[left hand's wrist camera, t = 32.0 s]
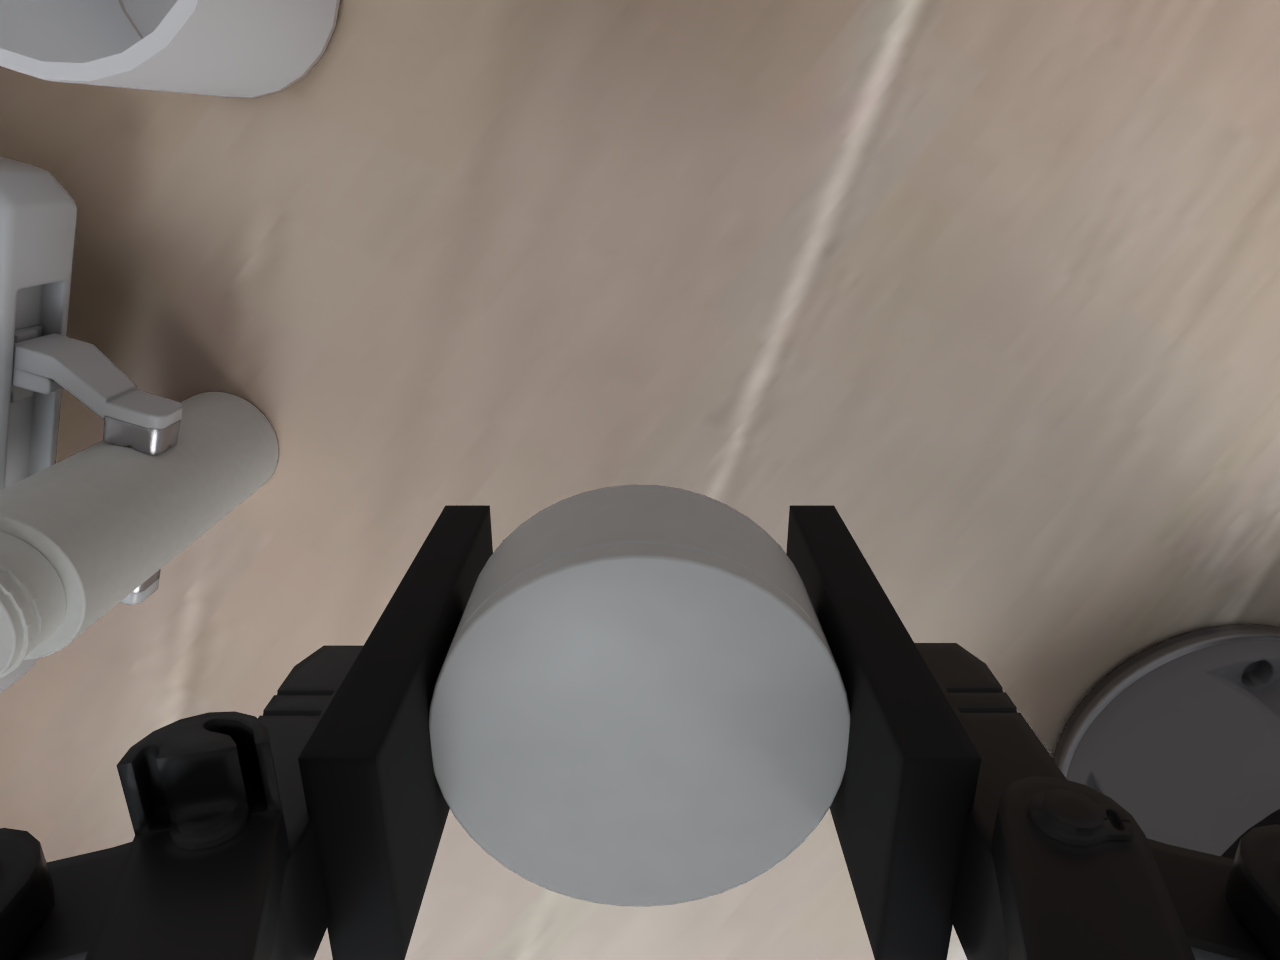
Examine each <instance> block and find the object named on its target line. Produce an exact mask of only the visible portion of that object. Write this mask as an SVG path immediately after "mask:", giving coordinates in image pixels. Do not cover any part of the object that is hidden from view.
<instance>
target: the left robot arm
mask: <svg viewBox="0 0 1280 960" xmlns="http://www.w3.org/2000/svg"><path fill="white" fill-rule="evenodd" d="M492 554H493V548H492V534H491V519H490V506H445V508H444V509H443V511H442V513H441V514H440V516H439V518H438V519H437V521H436V523H435V525H434V526H433V528H432V530H431V531H430V533H429V535H428V537H427V538H426V540H425V542H424V543H423V545H422V547H421V549H420V550H419V552H418V554H417V555H416V557H415V559H414V561H413V562H412V564H411V566H410V567H409V569H408V571H407V573H406V574H405V576H404V578H403V579H402V581H401V583H400V585H399V586H398V588H397V590H396V591H395V593H394V595H393V597H392V598H391V600H390V602H389V603H388V605H387V607H386V608H385V610H384V612H383V614H382V615H381V617H380V619H379V620H378V622H377V624H376V626H375V627H374V629H373V631H372V632H371V634H370V636H369V638H368V639H367V641H366V643H365V644H364V646H323V647H321V648H320V649H318V650H317V651H316V652H314V653H313V654H311V655H310V656H309V657H307V658H306V659H304V660H303V661H301V662H300V663H299V664H297V665H296V666H294V668H293V669H292V671H291V672H290V673H289V675H288V676H287V678H286V679H285V681H284V682H283V683H282V685H281V686H280V688H279V689H278V693H277V695H274V696H273V698H272V699H271V701H270V702H269V703H268V705H267V706H266V708H265V709H264V713H263V716H259V718H258V719H257V718H256V717H255V716H251V715H247V714H243V713H238V712H212V713H205V714H201V715H197V716H193V717H189V718H185V719H181V720H178V721H176V722H174V723H172V724H169V725H167V726H165V727H163V728H160V729H158V730H156V731H153V732H152V733H151V734H149V735H148V736H146V737H145V738H144V739H142V740H141V741H139V742H138V743H136V744H135V745H134V746H132V747H131V748H130V749H129V750H128V752H127V753H126V754H125V755H124V757H123V758H122V759H121V761H120V762H119V763H118V764H117V769H118V772H119V776H120V780H121V784H122V787H123V791H124V795H125V799H126V802H127V806H128V810H129V814H130V817H131V821H132V825H133V828H134V832H135V837H134V840H133V842H130V843H126V844H123V845H120V846H116V847H113V848H109V849H105V850H100V851H96V852H92V853H87V854H83V855H78V856H74V857H70V858H65V859H61V860H57V861H52V862H48V863H46V860H45V857H44V854H43V851H42V848H41V844H40V842H39V841H38V840H37V839H36V838H34V837H33V836H32V835H31V834H30V833H28V832H27V831H21V830H14V829H8V828H1V829H0V960H314V958H315V955H316V953H317V950H318V948H319V945H320V943H321V941H322V938H323V936H324V933H325V931H326V929H327V928H328V934H329V939H330V945H331V951H332V957H333V960H404V959H405V956H406V953H407V949H408V946H409V943H410V939H411V936H412V933H413V929H414V926H415V923H416V919H417V916H418V913H419V909H420V906H421V903H422V899H423V896H424V892H425V889H426V886H427V882H428V879H429V876H430V872H431V869H432V866H433V862H434V859H435V856H436V852H437V849H438V846H439V842H440V839H441V836H442V832H443V829H444V826H445V822H446V819H447V816H448V812H449V809H450V807H449V806H448V804H447V802H446V800H445V799H444V797H443V794H442V792H441V789H440V787H439V784H438V782H437V779H436V777H435V773H434V767H433V758H432V749H431V739H430V729H429V711H430V704H431V700H432V696H433V692H434V687H435V683H436V681H437V678H438V676H439V673H440V671H441V668H442V666H443V663H444V661H445V658H446V656H447V653H448V651H449V648H450V646H451V643H452V641H453V638H454V636H455V633H456V630H457V628H458V625H459V623H460V620H461V618H462V615H463V613H464V610H465V608H466V605H467V603H468V600H469V598H470V595H471V593H472V590H473V588H474V586H475V583H476V581H477V579H478V576H479V574H480V573H481V571H482V569H483V568H484V566H485V564H486V563H487V561H488V560H489V558H490V556H491V555H492ZM787 556H788V557H789V559H790V560H791V561H792V563H793V564H794V566H795V568H796V570H797V572H798V574H799V575H800V577H801V579H802V581H803V583H804V586H805V588H806V590H807V593H808V595H809V598H810V600H811V603H812V605H813V608H814V610H815V613H816V615H817V618H818V620H819V622H820V625H821V627H822V630H823V632H824V635H825V637H826V640H827V642H828V645H829V647H830V650H831V652H832V655H833V657H834V659H835V662H836V664H837V667H838V669H839V672H840V675H841V678H842V681H843V683H844V686H845V689H846V692H847V698H848V703H849V709H850V730H849V741H848V750H847V759H846V768H845V772H844V775H843V779H842V782H841V785H840V787H839V789H838V791H837V794H836V796H835V798H834V800H833V802H832V804H831V806H830V811H831V814H832V817H833V821H834V824H835V827H836V831H837V834H838V837H839V841H840V844H841V847H842V851H843V854H844V857H845V861H846V864H847V867H848V871H849V874H850V877H851V881H852V884H853V887H854V891H855V894H856V898H857V901H858V904H859V908H860V911H861V914H862V918H863V921H864V924H865V928H866V931H867V934H868V938H869V941H870V944H871V948H872V951H873V954H874V958H875V960H946V959H947V954H948V948H949V942H950V936H951V931H952V925H953V926H954V928H955V931H956V933H957V935H958V938H959V940H960V943H961V945H962V947H963V950H964V952H965V955H966V957H967V959H968V960H1280V628H1278V627H1273V626H1265V625H1255V624H1237V625H1224V626H1217V627H1211V628H1205V629H1201V630H1197V631H1192V632H1189V633H1185V634H1182V635H1179V636H1176V637H1173V638H1171V639H1168V640H1166V641H1163V642H1161V643H1158V644H1156V645H1154V646H1152V647H1150V648H1148V649H1146V650H1144V651H1142V652H1141V653H1139V654H1137V655H1136V656H1134V657H1132V658H1131V659H1129V660H1127V661H1126V662H1125V663H1123V664H1122V665H1120V666H1119V667H1117V668H1116V669H1115V670H1113V671H1112V672H1111V673H1110V674H1109V675H1107V676H1106V677H1105V678H1104V679H1103V680H1102V681H1101V682H1099V683H1098V684H1097V685H1096V686H1095V687H1094V688H1093V689H1092V690H1091V691H1090V693H1089V694H1088V695H1087V696H1086V697H1085V698H1084V699H1083V701H1082V702H1081V703H1080V704H1079V706H1078V707H1077V709H1076V710H1075V711H1074V713H1073V714H1072V716H1071V718H1070V719H1069V721H1068V723H1067V724H1066V726H1065V728H1064V730H1063V732H1062V735H1061V737H1060V739H1059V742H1058V745H1057V748H1056V751H1055V755H1054V759H1052V757H1051V756H1050V755H1049V753H1048V752H1047V750H1046V749H1045V747H1044V746H1043V745H1042V743H1041V742H1040V740H1039V739H1038V738H1037V736H1036V735H1035V733H1034V732H1033V730H1032V729H1031V728H1030V726H1029V725H1028V723H1027V722H1026V721H1025V719H1024V718H1023V716H1022V715H1021V713H1017V711H1016V706H1015V705H1014V704H1013V702H1012V701H1011V699H1010V698H1009V696H1008V695H1007V694H1006V693H1003V691H1002V686H1001V685H1000V684H999V682H998V681H997V679H996V678H995V677H994V675H993V674H992V672H991V671H990V669H989V668H988V667H987V665H986V664H985V663H984V662H982V661H981V660H979V659H978V658H977V657H975V656H974V655H972V654H971V653H969V652H968V651H967V650H965V649H964V648H962V647H961V646H959V645H958V644H957V643H914V642H913V640H912V639H911V637H910V635H909V633H908V632H907V630H906V628H905V627H904V625H903V623H902V621H901V620H900V618H899V616H898V615H897V613H896V611H895V609H894V608H893V606H892V604H891V603H890V601H889V599H888V597H887V596H886V594H885V592H884V591H883V589H882V587H881V585H880V584H879V582H878V580H877V579H876V577H875V575H874V573H873V572H872V570H871V568H870V567H869V565H868V563H867V561H866V560H865V558H864V556H863V555H862V553H861V551H860V550H859V548H858V546H857V544H856V543H855V541H854V539H853V538H852V536H851V534H850V532H849V531H848V529H847V527H846V526H845V524H844V522H843V520H842V519H841V517H840V515H839V514H838V512H837V510H836V508H835V507H834V506H790V511H789V526H788V541H787Z"/></svg>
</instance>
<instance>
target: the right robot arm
mask: <svg viewBox="0 0 1280 960" xmlns="http://www.w3.org/2000/svg"><path fill="white" fill-rule="evenodd" d="M76 220H77V207H76V204H75V202H74V200H73V199H72V197H71V196H70V195H69V194H68V192H67V191H66V190H65V189H64V188H63V187H62V185H61V184H60V183H59V182H58V181H57V180H56V179H55V178H54V177H53V176H52V174H50V173H49V172H48V171H46V170H44V169H42V168H39V167H36V166H33V165H30V164H27V163H23V162H20V161H16V160H12V159H9V158H5V157H1V156H0V490H2V489H5V488H7V487H9V486H11V485H13V484H15V483H17V482H19V481H21V480H23V479H25V478H27V477H29V476H31V475H33V474H35V473H37V472H39V471H41V470H43V469H45V468H47V467H49V466H51V465H53V464H56V453H57V442H58V430H59V418H60V406H61V394H62V389H63V388H64V389H65V390H67V391H68V392H69V393H70V394H72V395H73V396H74V397H76V398H77V399H78V400H79V401H81V402H82V403H83V404H84V405H86V406H87V407H88V408H89V409H91V410H92V411H93V412H94V413H96V414H97V415H98V416H100V417H101V418H102V419H103V420H104V419H105V423H104V437H103V442H106V443H109V444H113V445H116V446H121V447H125V446H129V445H130V446H131V447H132V448H133V449H134V450H136V451H138V452H141V453H144V454H161V453H163V452H165V451H166V450H167V449H168V447H169V446H171V447H174V446H175V445H177V441H178V435H179V429H180V423H181V419H182V410H183V405H182V404H181V403H179V402H177V401H174V400H171V399H167V398H164V397H161V396H157V395H154V394H151V393H147V392H144V391H141V390H138V389H137V385H136V384H135V383H133V382H132V381H131V380H130V379H129V378H128V377H127V376H126V375H125V374H124V373H123V372H122V371H121V370H120V369H119V368H118V367H117V366H116V365H114V364H113V363H112V362H111V361H110V360H109V359H108V358H107V357H106V356H105V355H104V354H103V353H102V352H101V351H100V350H99V349H98V348H97V347H96V346H94V345H93V344H90V343H87V342H84V341H80V340H77V339H74V338H70V337H67V336H66V335H67V323H68V311H69V299H70V287H71V275H72V263H73V251H74V239H75V229H76ZM160 570H161V569H160ZM160 570H159V571H157V572H156V573H155V574H154V575H152V576H151V577H150V578H149V579H148V580H146V581H145V582H144V583H143V584H141V585H140V586H139V587H138V588H137V589H135V590H134V591H133V592H132V593H130V594H129V595H128V596H127V597H126V598H124V599H123V600H122V601H121V602H120V603H124V604H139V603H141V602H143V601H144V600H146V599H147V598H148V597H149V596H150V595H151V594H153V593H154V592H155V591H156V590H157V589H158V585H159V577H160ZM37 660H38V658H36V659H28V660H23V662H22V663H21V664H20V666H19V667H18V668H16V669H15V670H13V671H12V672H10V673H9V674H7V675H6V676H4V677H3V678H0V693H2V692H3V691H4V690H6V689H7V688H8V687H9V686H11V685H12V684H13V683H14V682H16V681H17V680H18V679H19V678H20V677H22V676H23V675H24V674H25V673H26V672H28V671H29V670H30V669H31V668H32V667H33V666H34V665H35V663H36V662H37Z"/></svg>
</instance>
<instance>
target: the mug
mask: <svg viewBox="0 0 1280 960" xmlns="http://www.w3.org/2000/svg"><path fill="white" fill-rule="evenodd" d="M339 2H340V0H0V66H2V67H5V68H8V69H11V70H14V71H17V72H21V73H24V74H27V75H30V76H33V77H37V78H40V79H43V80H48V81H55V82H66V83H77V84H88V85H100V86H111V87H122V88H133V89H144V90H156V91H167V92H178V93H189V94H201V95H212V96H223V97H237V98H258V97H262V96H265V95H269V94H273V93H277V92H281V91H283V90H284V89H286V88H288V87H289V86H291V85H292V84H294V83H295V82H297V81H299V80H300V79H302V78H303V77H305V76H306V75H307V73H308V72H309V71H310V70H311V69H312V68H313V66H314V65H315V64H316V63H317V62H318V60H319V59H320V58H321V57H322V56H323V54H324V52H325V50H326V48H327V45H328V43H329V41H330V39H331V36H332V34H333V32H334V29H335V27H336V21H337V15H338V9H339Z"/></svg>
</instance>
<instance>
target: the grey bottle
mask: <svg viewBox="0 0 1280 960" xmlns="http://www.w3.org/2000/svg"><path fill="white" fill-rule="evenodd" d="M180 403H181V404H182V405H183V410H182V419H181V423H180V429H179V435H178V441H177V445H175V446H174V447H171V446H169V447H168V449H167V450H166V451H165V452H163V453H161V454H144V453H141V452H138V451H136V450H134V449H133V448H132V447H131V446H130V445H129V446H125V447H121V446H116V445H113V444H109V443H106V442H103V440H102V441H100V442H98V443H96V444H94V445H92V446H90V447H88V448H86V449H84V450H82V451H80V452H78V453H76V454H74V455H72V456H70V457H68V458H66V459H64V460H62V461H60V462H58V463H56V464H53V465H51V466H49V467H47V468H45V469H43V470H41V471H39V472H37V473H35V474H33V475H31V476H29V477H27V478H25V479H23V480H21V481H19V482H17V483H15V484H13V485H11V486H9V487H7V488H5V489H2V490H0V678H3V677H4V676H6V675H7V674H9V673H10V672H12V671H13V670H15V669H16V668H18V667H19V666H20V664H21V663H22V662H23V660H28V659H36V658H41V657H45V656H48V655H51V654H53V653H56V652H57V651H59V650H61V649H63V648H64V647H65V646H67V645H68V644H69V643H70V642H72V641H73V640H74V639H75V638H77V637H78V636H79V635H80V634H81V633H83V632H84V631H85V630H86V629H88V628H89V627H90V626H91V625H92V624H94V623H95V622H96V621H97V620H99V619H100V618H101V617H102V616H103V615H105V614H106V613H107V612H108V611H110V610H111V609H112V608H113V607H114V606H116V605H117V604H118V603H119V602H121V601H122V600H123V599H124V598H126V597H127V596H128V595H129V594H130V593H132V592H133V591H134V590H135V589H137V588H138V587H139V586H140V585H141V584H143V583H144V582H145V581H146V580H148V579H149V578H150V577H151V576H152V575H154V574H155V573H156V572H157V571H159V570H160V569H161V568H162V567H163V566H165V565H166V564H167V563H168V562H170V561H171V560H172V559H173V558H174V557H176V556H177V555H178V554H179V553H181V552H182V551H183V550H184V549H185V548H187V547H188V546H189V545H190V544H192V543H193V542H194V541H195V540H196V539H198V538H199V537H200V536H201V535H203V534H204V533H205V532H206V531H207V530H209V529H210V528H211V527H212V526H214V525H215V524H216V523H217V522H218V521H220V520H221V519H222V518H223V517H225V516H226V515H227V514H228V513H230V512H231V511H232V510H233V509H234V508H236V507H237V506H238V505H239V504H241V503H242V502H243V501H244V500H245V499H247V498H248V497H249V496H250V495H252V494H253V493H254V492H255V491H256V490H258V489H259V488H260V487H261V486H263V485H264V484H265V483H266V482H267V481H268V480H269V479H270V477H271V476H272V474H273V473H274V470H275V468H276V465H277V462H278V442H277V438H276V435H275V432H274V430H273V428H272V426H271V424H270V423H269V421H268V420H267V418H266V417H265V416H264V415H263V414H262V413H261V411H260V410H258V409H257V408H256V407H255V406H254V405H252V404H251V403H249V402H248V401H246V400H244V399H242V398H240V397H238V396H235V395H232V394H228V393H223V392H205V393H201V394H197V395H195V396H192V397H190V398H188V399H186V400H184V401H182V402H180Z"/></svg>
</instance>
